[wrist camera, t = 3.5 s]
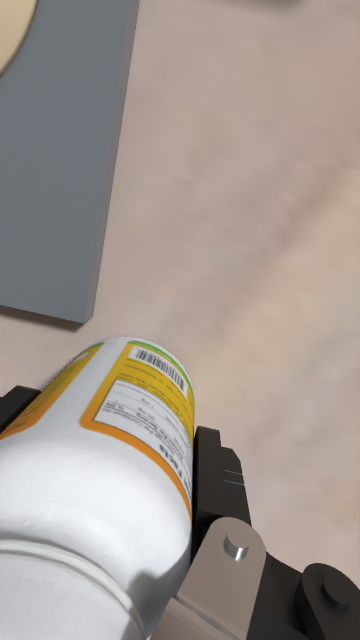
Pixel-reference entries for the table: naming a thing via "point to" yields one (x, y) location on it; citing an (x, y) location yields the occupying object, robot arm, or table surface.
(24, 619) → the supplement bottle
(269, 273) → the table surface
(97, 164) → the slate board
